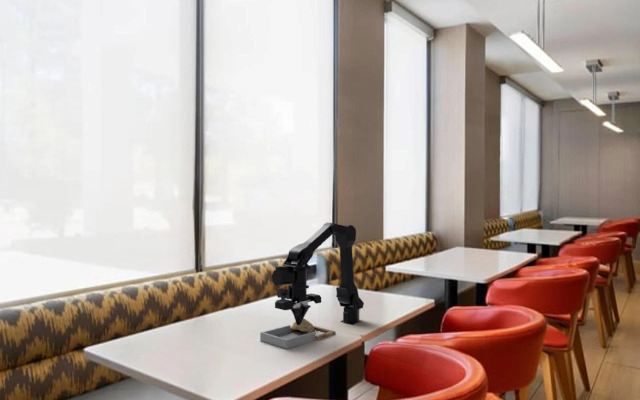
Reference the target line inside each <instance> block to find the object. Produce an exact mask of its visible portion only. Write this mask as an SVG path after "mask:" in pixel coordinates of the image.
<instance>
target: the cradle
mask: <svg viewBox="0 0 640 400" xmlns="http://www.w3.org/2000/svg"><path fill="white" fill-rule="evenodd" d="M313 326H314V330H313V331H315V330H316V331H315V332H319V331H320V333H321V334H318V335H316V340H315V341H320V340H323V339H325V337H326V338H328V336H329V337H331V336H334V335H336V331H335V330H332V329H327V328H324V327H320V326H317V325H316V326H315V325H313ZM296 331H297V330H295V329H292V326H291V333H293V332H296ZM323 332H324V333H323ZM322 338H323V339H322Z"/></svg>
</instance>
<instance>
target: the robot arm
mask: <svg viewBox="0 0 640 400" xmlns="http://www.w3.org/2000/svg"><path fill="white" fill-rule="evenodd" d="M333 235H334V239H335V242H336V243H337V245H338V247H339V257H340V258H339V261H340V278H341V279H340V284H339V286H337V287H336V288H335V289H336V295H335V296H336V298H337V301H338V303H339V306H340V307H343V311H342V320H340V323H344V324H348V325H355V324H358V323H361V322H362V320H361V319H360V310H361V309H363V308H364V305H365V303H364V301H363V300H362V299H361V297H360V296H359V290H358V289H359V288H357V286H356V284H355V281H354V263H353V261H354V260H353V246H354V244H355V242H356V240H357V239H356V238H357V230H356V227H355V226H354V225H351V224H338V223H335V222H324V224H323V226H322V227H320V228H319V229H318V230H317V231H316V232H315V233H314V234H313V235H312V236H310V237H309V238H308V239H306V241H304V242H302V243H299V244H297V245H295V246H293V247H292V248H291V249H290V250H289V251H288V255H287V256H286V259H285V260H284V262H283V264H282V265H276V266H275V269H274V270H273V272H272V275H271V281H272V282H273V284H274V285H275V286H277V287H278V286H283V285H288V286H287V289H284V288H283V287H282V288H277V289H276V296H277V298H278V299H277V300H275V302H274V309H279V310H283V311H289V310H290V311H291V312H292V315H293V316H294V317H293V318H294V320H295V321H294V322H296V324H297V325H301V323H302V320H303V318H304V319H305V316H306V314H307V312H308V310H309V309H310V308H312V306H311V305H309V303H310V302H314V303H315V304H321V303H322V297H321V295H320V294H316V293H307V289H309V288H310V285H309V284H308V283H307V279H308V277H307V276H308V275H307V272H308V270H312V267H311V266H310V265H309V264H308V263H309V262H310V260H311V259H312V258H313V256H314V252H315V251H316V250H317V249H318V248H319V247H320V246H322V244H324V243H325V242H326V241H327V240H328V239H329V238H330V237H331V236H333Z"/></svg>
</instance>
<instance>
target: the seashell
mask: <svg viewBox="0 0 640 400" xmlns="http://www.w3.org/2000/svg"><path fill="white" fill-rule="evenodd" d="M314 326H315V325H313V323H311V322H310V321H309V320H307V319H306V318H305V317H304V318H303V320H302V323H301V325H297V324H296V321H294V323H293V324H292V325H291V327H292V329H295V330H296V331H300V332H302V333H305V334H308V333H311V332H314V331H315V330H314Z"/></svg>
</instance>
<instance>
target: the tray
mask: <svg viewBox="0 0 640 400" xmlns="http://www.w3.org/2000/svg"><path fill="white" fill-rule="evenodd" d="M291 327H292V325H290V324H288V325H284V326H280V327H276V328H273V329H268V330H265V331H260V333H259V335H260V338H259V339H260V341H259V342H263V343H265V344H270V345H272V346H276V347H279V348H282V349H285V350H290V349H292V348H295V347H298V346H301V345H305V344H307V343H310V342H313V341H316V340H315V339H316V336H317V335H316V332H317V331H312V332H310V333H305V334H301V335H298V334H296V333H293V332H291Z"/></svg>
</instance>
